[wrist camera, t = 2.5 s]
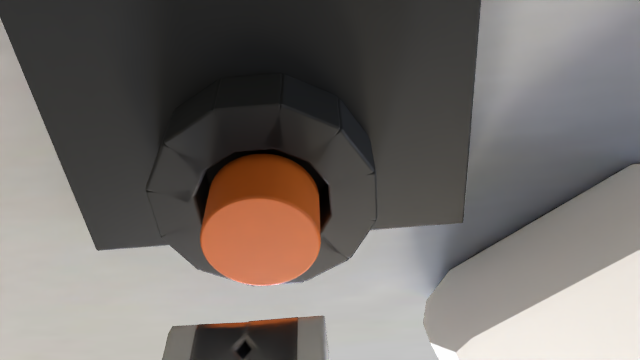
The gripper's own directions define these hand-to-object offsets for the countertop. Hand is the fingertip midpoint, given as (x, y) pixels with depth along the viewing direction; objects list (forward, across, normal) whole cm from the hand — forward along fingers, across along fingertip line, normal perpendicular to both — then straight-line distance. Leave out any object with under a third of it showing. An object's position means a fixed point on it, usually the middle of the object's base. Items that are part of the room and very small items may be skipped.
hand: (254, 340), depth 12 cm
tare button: (+4, 0, 0) cm, 4 cm away
